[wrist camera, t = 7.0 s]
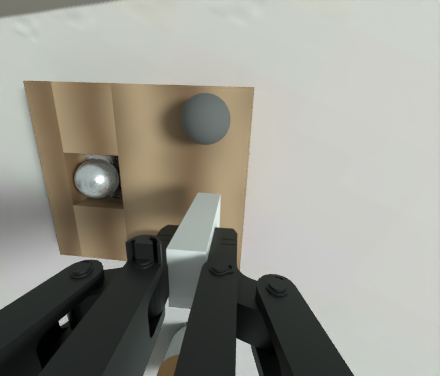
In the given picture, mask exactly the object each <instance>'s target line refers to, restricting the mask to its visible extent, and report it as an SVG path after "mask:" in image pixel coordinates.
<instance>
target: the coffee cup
mask: <svg viewBox="0 0 440 376" xmlns="http://www.w3.org/2000/svg"><path fill="white" fill-rule="evenodd" d="M186 326H187V325H186ZM186 326H184V327H182V328H181V329H180V330H178V332H177V333H176V334H174V336H173V338H172V340H171V342H170V345H169V348H168V350H167V353H166V355H165V358H164V360H163V363H162V364H161V366H160V368H159V371H158V373H157V376H174V372H175V368H176V364H177V361H178V357H179V353H180V349H181V345H182V341H183V338H184V334H185V330H186Z"/></svg>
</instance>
